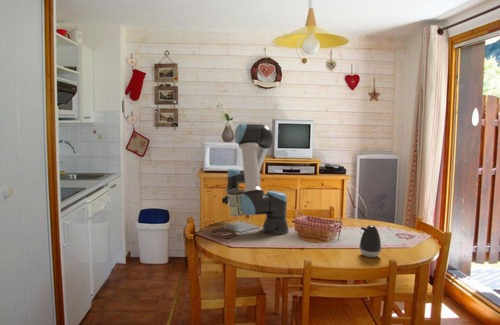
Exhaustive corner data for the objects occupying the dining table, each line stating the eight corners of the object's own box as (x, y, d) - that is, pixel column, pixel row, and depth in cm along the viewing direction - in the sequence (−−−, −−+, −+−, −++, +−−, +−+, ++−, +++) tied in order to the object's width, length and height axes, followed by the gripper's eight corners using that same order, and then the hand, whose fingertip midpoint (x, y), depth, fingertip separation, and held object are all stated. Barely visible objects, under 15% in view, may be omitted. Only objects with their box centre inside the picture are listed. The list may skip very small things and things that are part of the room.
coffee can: (235, 211, 244) (233, 189, 242) (250, 212, 239) (248, 189, 237) (226, 216, 235) (224, 192, 233) (241, 216, 230) (239, 193, 228)
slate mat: (259, 227, 239) (259, 226, 239) (240, 232, 227) (240, 231, 227) (240, 222, 250) (240, 221, 250) (221, 226, 238) (221, 226, 238)
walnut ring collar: (241, 234, 223) (241, 232, 223) (222, 239, 212) (222, 237, 212) (223, 229, 233) (223, 226, 233) (204, 233, 222) (204, 231, 222)
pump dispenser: (355, 252, 200) (357, 222, 198) (375, 252, 200) (377, 222, 199) (362, 259, 190) (364, 228, 188) (383, 259, 190) (386, 228, 189)
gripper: (253, 201, 258) (260, 209, 237) (215, 201, 253) (219, 210, 232) (254, 189, 257) (261, 197, 236) (215, 190, 252) (219, 197, 231)
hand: (240, 203), depth 234 cm, fingers open, 13 cm apart
